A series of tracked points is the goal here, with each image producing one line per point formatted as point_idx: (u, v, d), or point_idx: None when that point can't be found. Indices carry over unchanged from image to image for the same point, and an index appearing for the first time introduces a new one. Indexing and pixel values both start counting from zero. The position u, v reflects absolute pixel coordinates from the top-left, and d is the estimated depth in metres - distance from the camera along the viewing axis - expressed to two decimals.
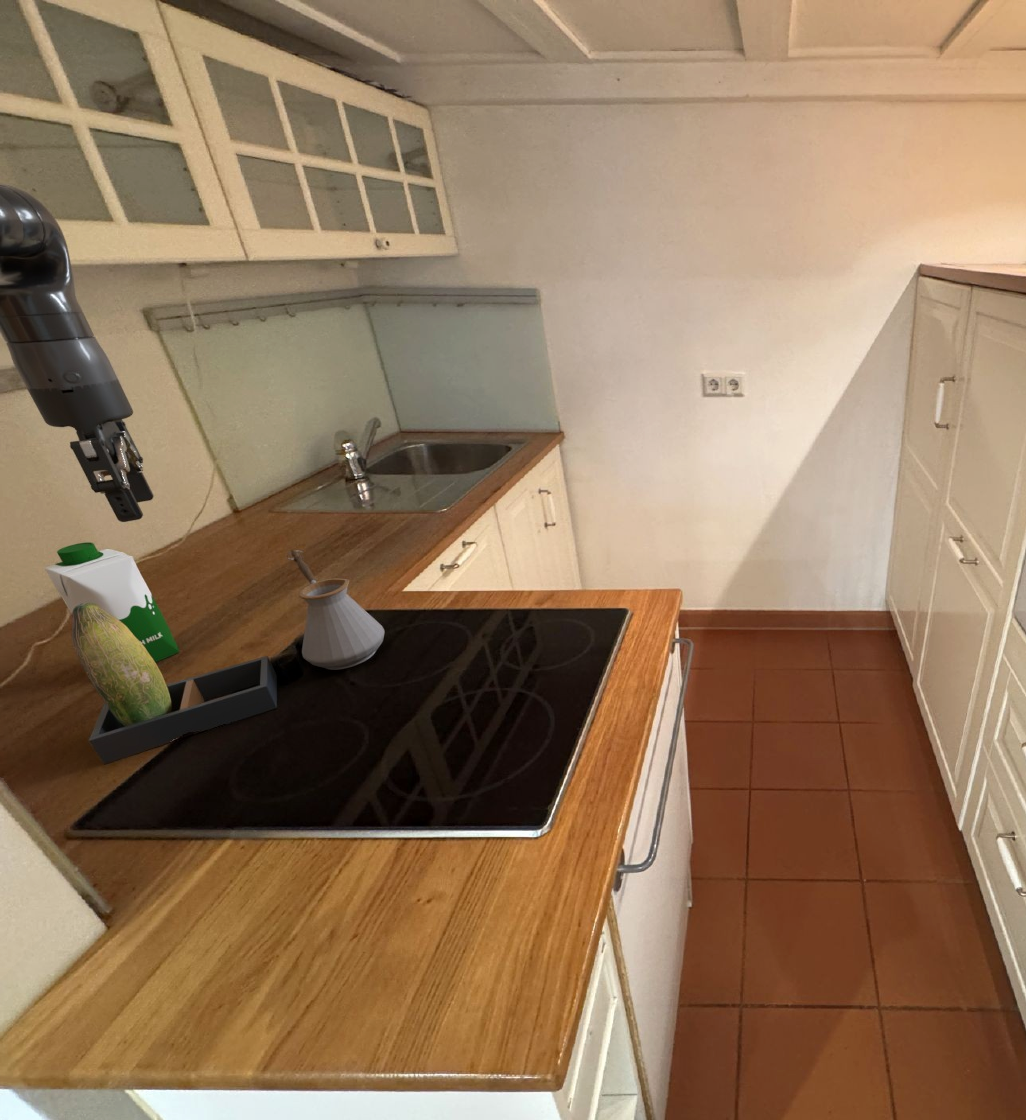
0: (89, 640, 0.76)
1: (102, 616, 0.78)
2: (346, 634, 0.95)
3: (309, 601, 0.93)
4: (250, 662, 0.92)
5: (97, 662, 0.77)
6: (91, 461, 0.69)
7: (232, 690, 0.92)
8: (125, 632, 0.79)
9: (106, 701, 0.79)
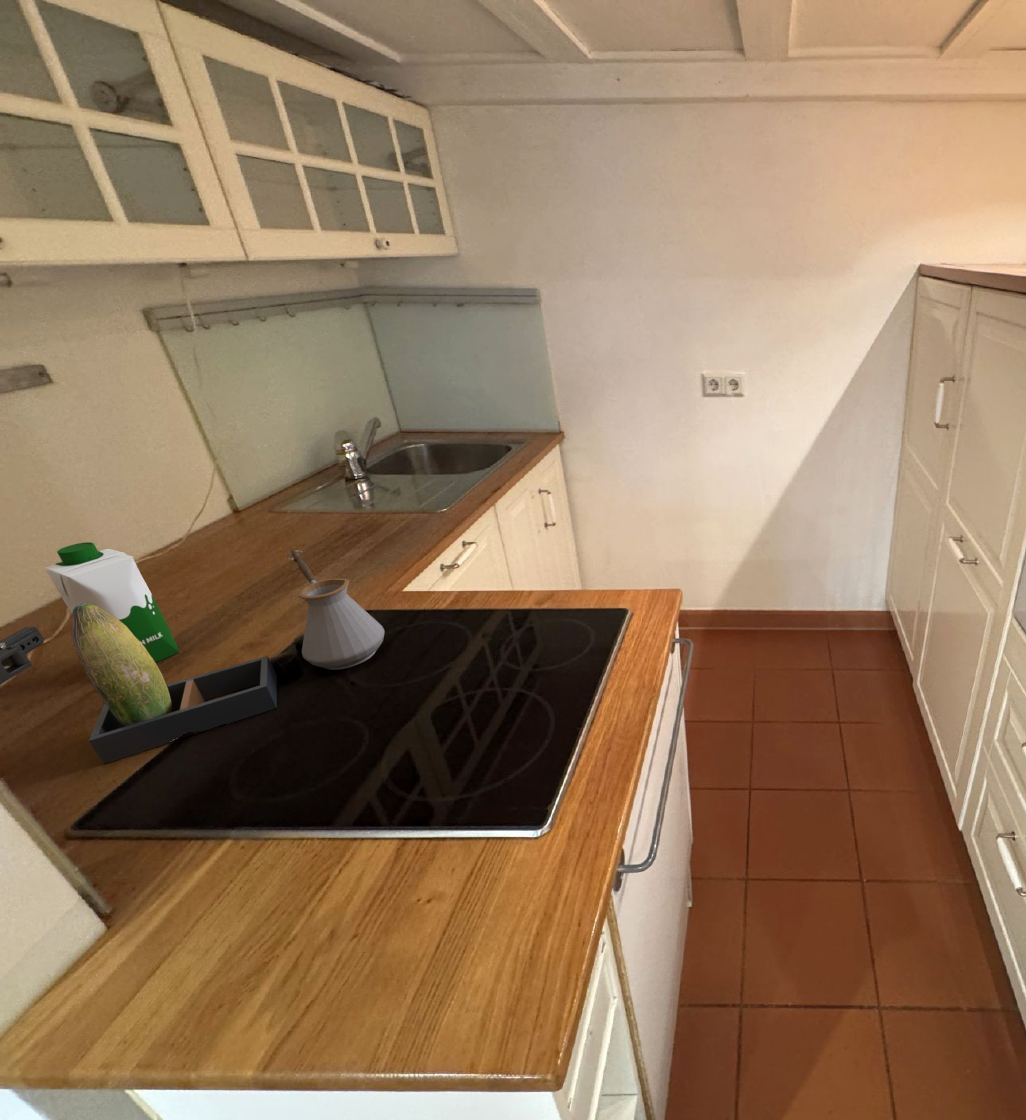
0: (89, 640, 0.76)
1: (102, 616, 0.78)
2: (346, 634, 0.95)
3: (309, 601, 0.93)
4: (250, 662, 0.92)
5: (97, 662, 0.77)
6: None
7: (232, 690, 0.92)
8: (125, 632, 0.79)
9: (106, 701, 0.79)
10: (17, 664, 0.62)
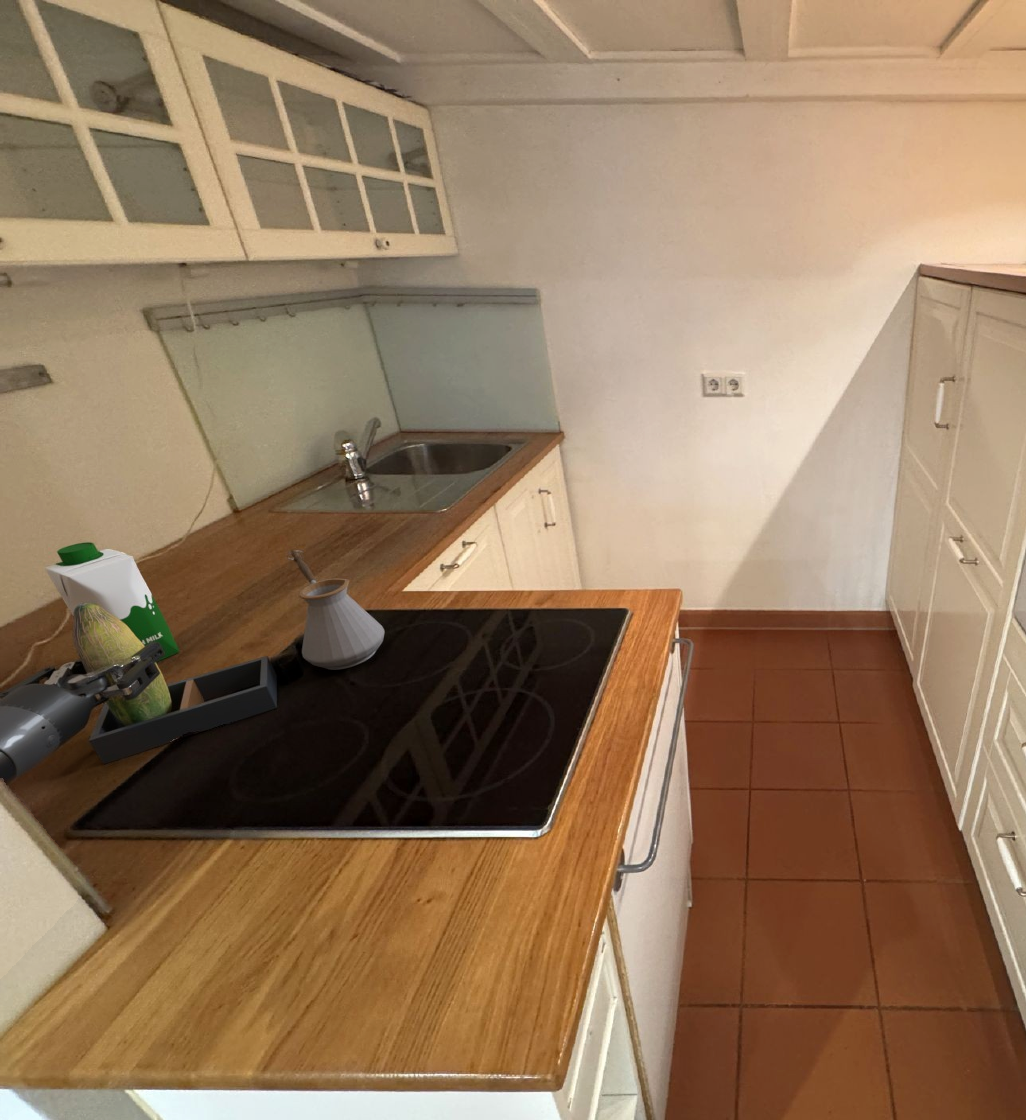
0: (90, 640, 0.76)
1: (103, 616, 0.78)
2: (346, 634, 0.95)
3: (309, 601, 0.93)
4: (250, 662, 0.92)
5: (97, 661, 0.77)
6: None
7: (232, 690, 0.92)
8: (126, 632, 0.79)
9: (106, 701, 0.79)
10: (150, 672, 0.78)
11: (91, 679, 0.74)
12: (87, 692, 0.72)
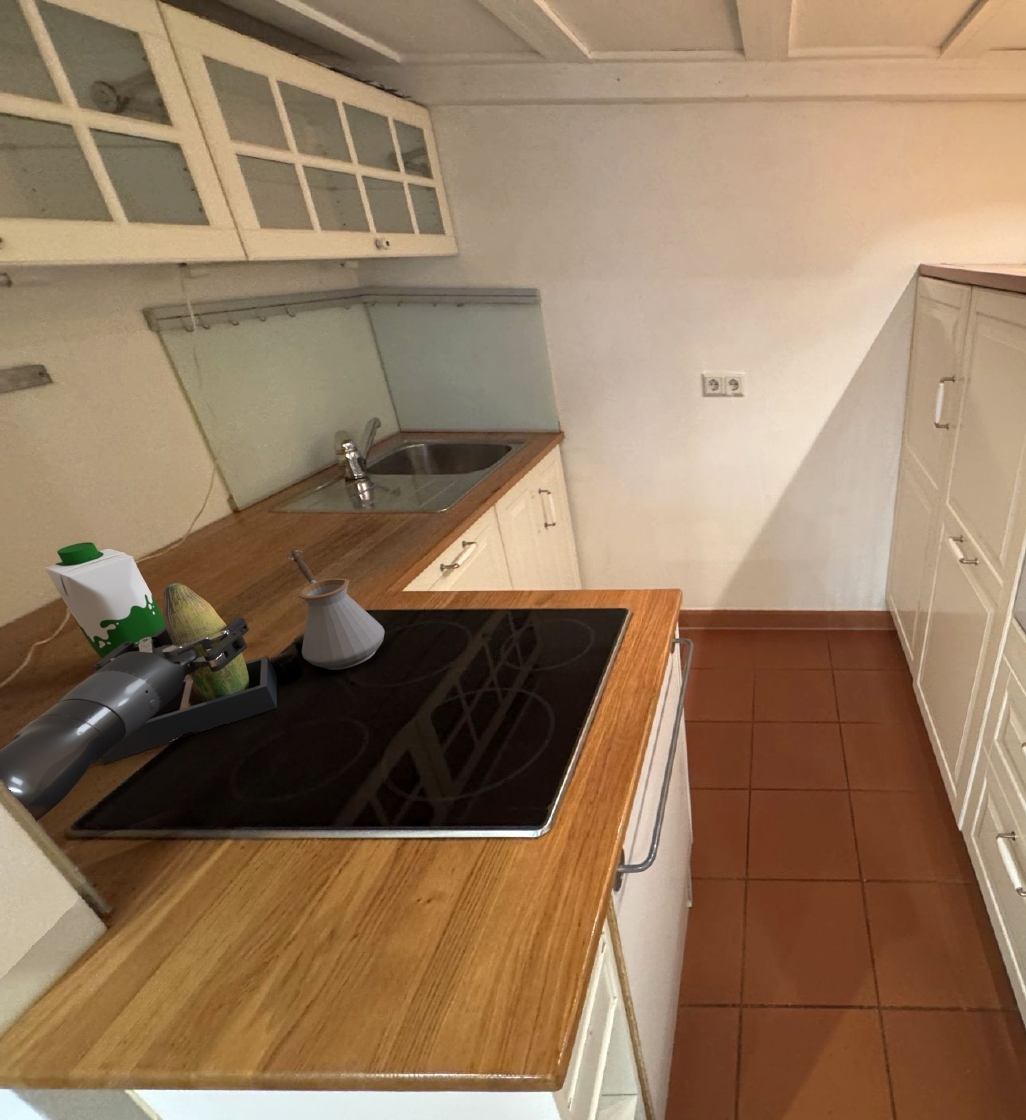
0: (180, 618, 0.81)
1: (191, 596, 0.82)
2: (346, 634, 0.95)
3: (309, 601, 0.93)
4: (250, 662, 0.92)
5: (186, 638, 0.81)
6: None
7: None
8: (211, 611, 0.84)
9: (193, 676, 0.84)
10: (239, 646, 0.82)
11: (182, 649, 0.78)
12: (181, 660, 0.77)
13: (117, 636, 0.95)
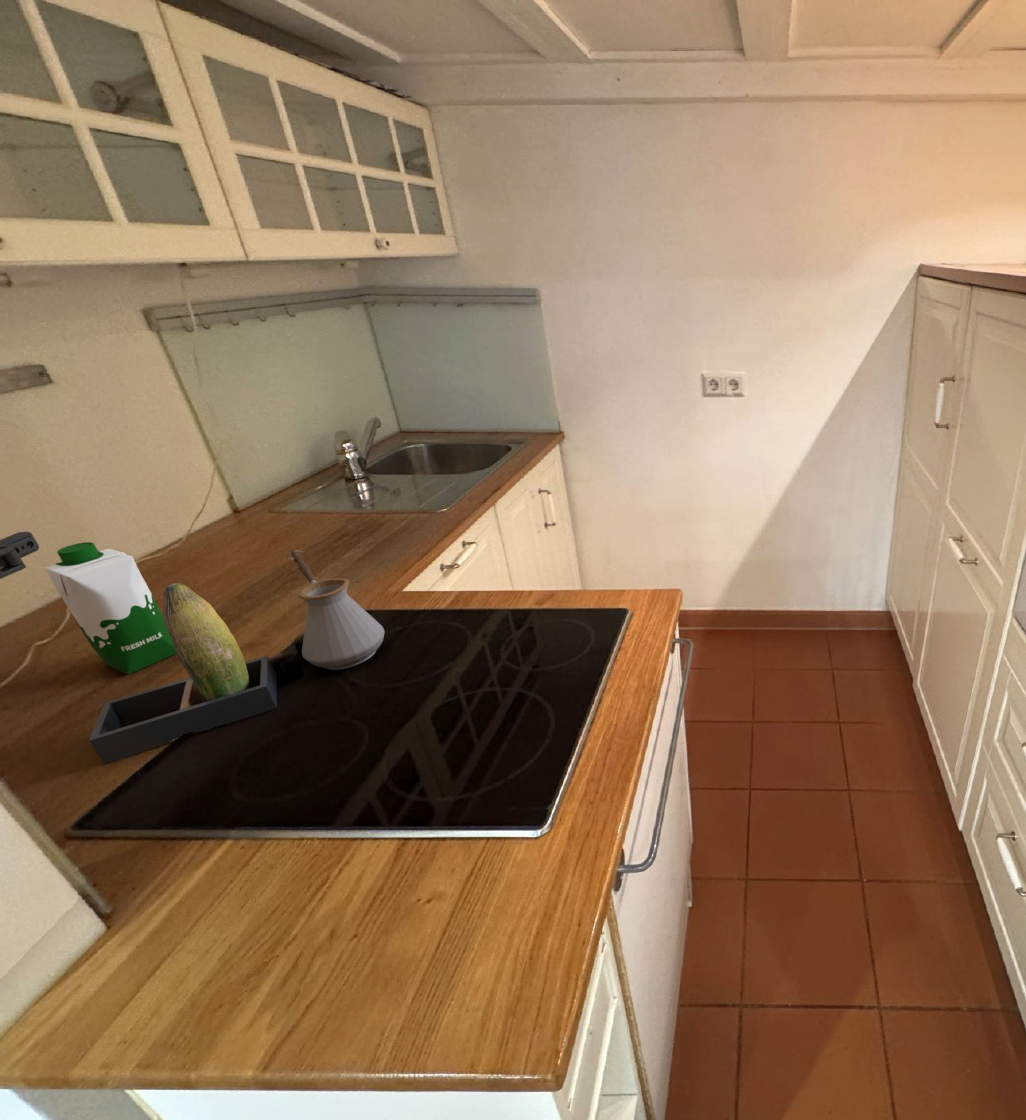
0: (180, 618, 0.81)
1: (191, 596, 0.82)
2: (346, 634, 0.95)
3: (309, 601, 0.93)
4: (250, 662, 0.92)
5: (186, 638, 0.81)
6: None
7: None
8: (211, 611, 0.84)
9: (193, 676, 0.84)
10: (10, 565, 0.60)
11: None
12: None
13: (117, 636, 0.95)
